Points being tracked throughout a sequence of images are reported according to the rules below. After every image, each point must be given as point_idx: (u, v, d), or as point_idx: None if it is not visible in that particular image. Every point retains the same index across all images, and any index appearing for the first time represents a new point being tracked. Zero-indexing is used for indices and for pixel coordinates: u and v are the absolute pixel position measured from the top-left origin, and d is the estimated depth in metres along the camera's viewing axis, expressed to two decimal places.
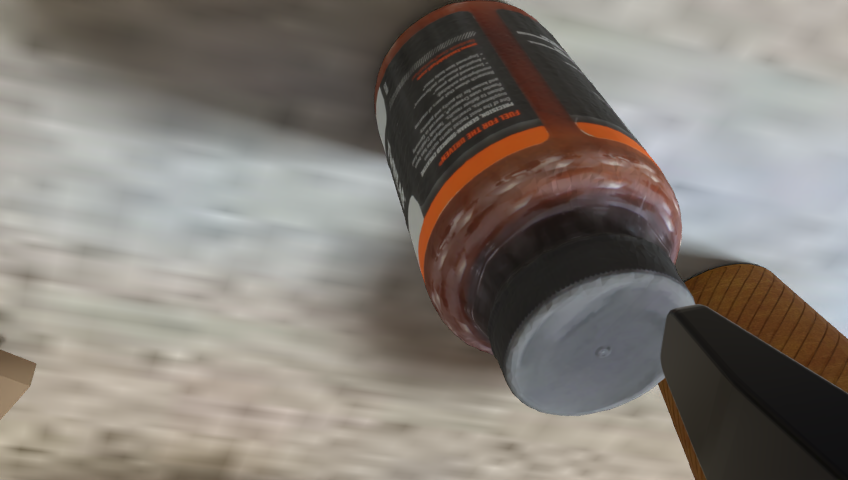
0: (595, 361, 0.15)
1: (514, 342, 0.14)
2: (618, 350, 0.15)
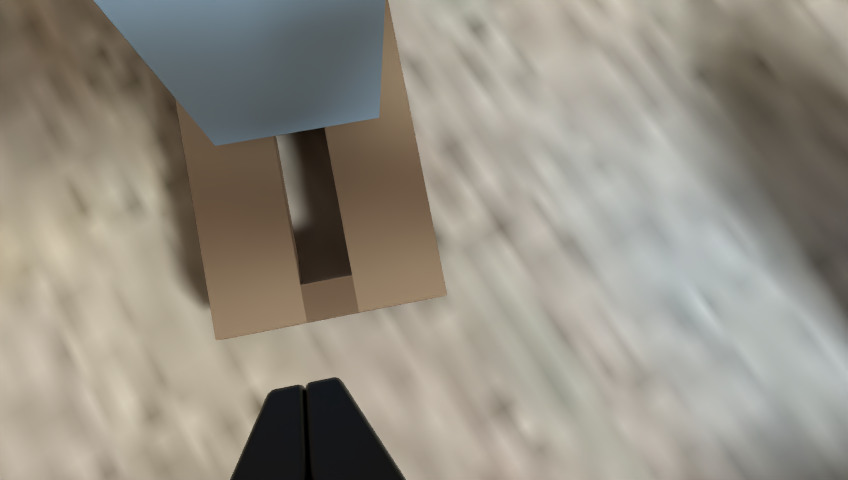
0: None
1: None
2: None
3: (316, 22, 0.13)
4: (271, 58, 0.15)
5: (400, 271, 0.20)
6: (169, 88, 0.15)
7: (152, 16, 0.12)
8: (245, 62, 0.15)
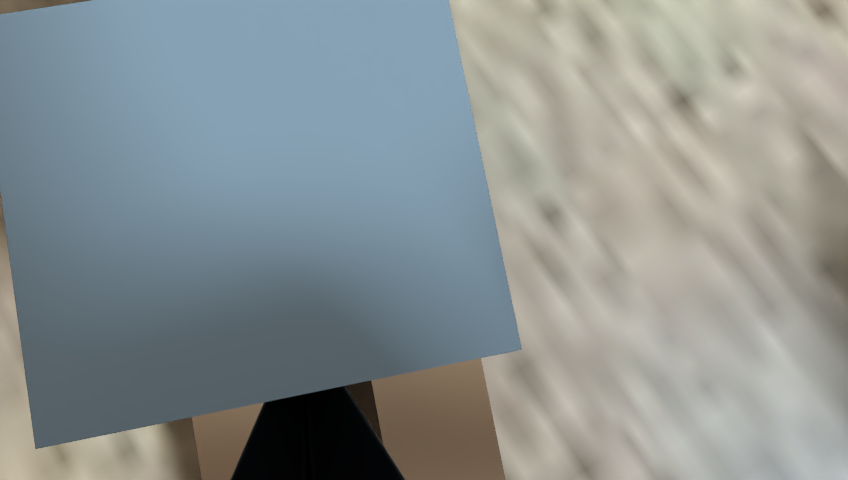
0: None
1: None
2: None
3: None
4: None
5: None
6: None
7: None
8: None
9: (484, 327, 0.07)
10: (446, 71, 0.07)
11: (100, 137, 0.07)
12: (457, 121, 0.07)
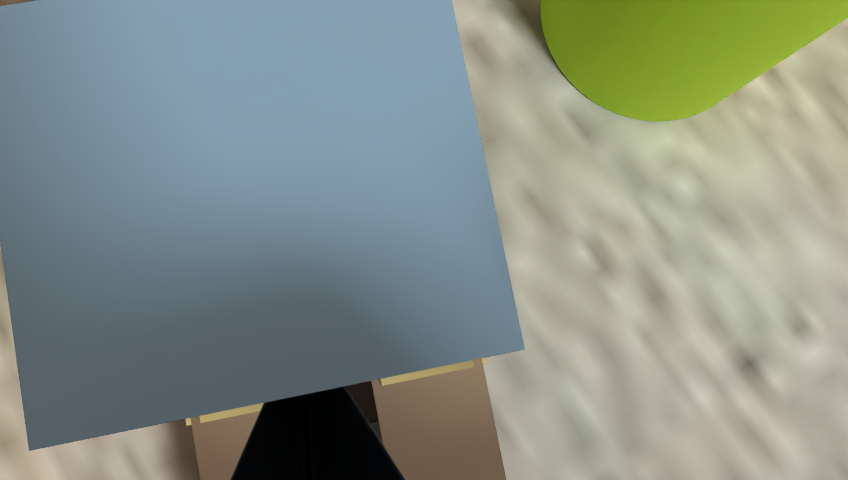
0: None
1: None
2: None
3: None
4: None
5: None
6: None
7: None
8: None
9: (486, 326, 0.07)
10: (448, 64, 0.07)
11: (94, 132, 0.07)
12: (458, 116, 0.07)
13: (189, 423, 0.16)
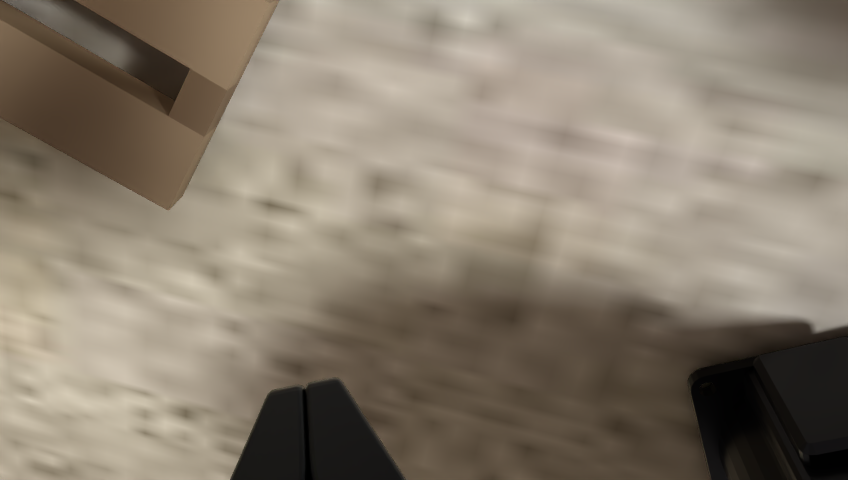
0: None
1: None
2: None
3: None
4: None
5: (217, 25, 0.18)
6: None
7: None
8: None
9: None
10: None
11: None
12: None
13: None
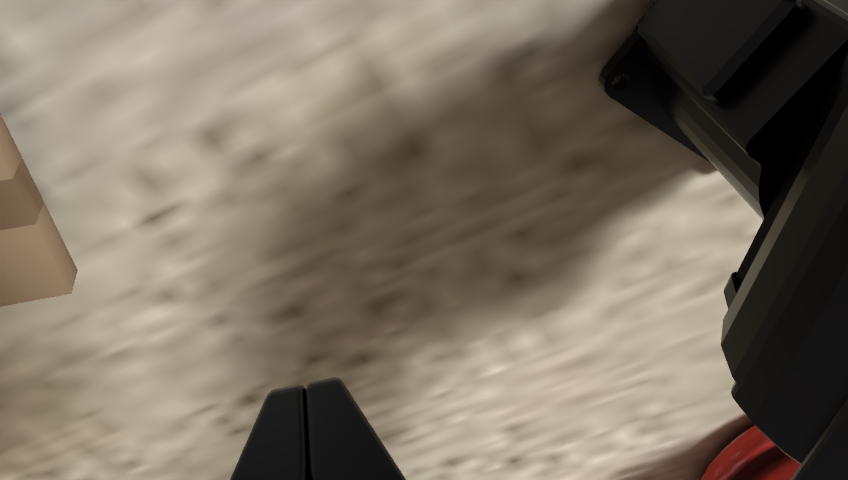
0: None
1: None
2: None
3: None
4: None
5: None
6: None
7: None
8: None
9: None
10: None
11: None
12: None
13: None
